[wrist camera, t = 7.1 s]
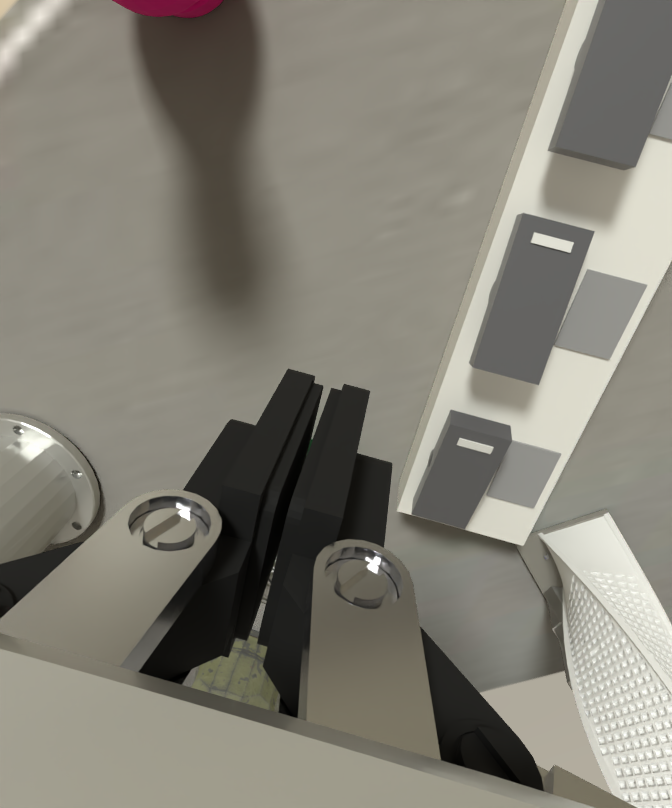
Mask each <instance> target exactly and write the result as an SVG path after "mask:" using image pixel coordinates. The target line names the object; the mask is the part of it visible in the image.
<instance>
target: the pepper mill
mask: <svg viewBox="0 0 672 808" xmlns="http://www.w3.org/2000/svg"><path fill="white" fill-rule="evenodd" d="M113 1H114V2H116V3H118V4H120V5H121V6H123V7H125V8H127V9H129V10H131V11H133V12H135V13H139V14H142V15H146V16H155V17H162V16H171V15H173V16H177V17H182V18H194V17H199V16H202V15H205V14H207V13H209V12H210V11H212V10H213V9H215V8H216V7H217V6H219V5H220V4H221V2H222V1H223V0H113Z"/></svg>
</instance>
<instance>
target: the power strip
mask: <svg viewBox="0 0 672 808" xmlns="http://www.w3.org/2000/svg"><path fill="white" fill-rule="evenodd" d="M597 3H598V0H566V3H565V6H564V9H563V12H562V14H561V17H560V20H559V23H558V26H557V29H556V32H555V35H554V38H553V40H552V43H551V46H550V49H549V52H548V55H547V58H546V61H545V63H544V66H543V69H542V72H541V75H540V78H539V81H538V84H537V87H536V89H535V92H534V95H533V98H532V101H531V104H530V107H529V110H528V112H527V115H526V118H525V121H524V124H523V127H522V130H521V133H520V135H519V138H518V141H517V144H516V147H515V150H514V153H513V156H512V159H511V161H510V164H509V167H508V170H507V173H506V176H505V179H504V182H503V184H502V187H501V190H500V193H499V196H498V199H497V202H496V205H495V208H494V210H493V213H492V216H491V219H490V222H489V225H488V228H487V231H486V233H485V236H484V239H483V242H482V245H481V248H480V251H479V254H478V256H477V259H476V262H475V265H474V268H473V271H472V274H471V277H470V280H469V282H468V285H467V288H466V291H465V294H464V297H463V300H462V303H461V305H460V308H459V311H458V314H457V317H456V320H455V323H454V326H453V329H452V331H451V334H450V337H449V340H448V343H447V346H446V349H445V352H444V354H443V357H442V360H441V363H440V366H439V369H438V372H437V375H436V377H435V380H434V383H433V386H432V389H431V392H430V395H429V398H428V401H427V403H426V406H425V409H424V412H423V415H422V418H421V421H420V424H419V426H418V429H417V432H416V435H415V438H414V441H413V444H412V447H411V450H410V452H409V455H408V458H407V461H406V464H405V467H404V470H403V473H402V475H401V478H400V481H399V491H398V503H397V511H399V512H402V513H406V514H409V515H411V513H412V503H413V498H414V495H415V493H416V491H417V488H418V486H419V483H420V481H421V479H422V476H423V474H424V472H425V469H426V467H427V464H428V460H429V456H430V453H431V451H432V449H434V448H435V445H436V443H437V441H438V438H439V436H440V434H441V431H442V429H443V426H444V424H445V422H446V419H447V417H448V415H449V412H450V410H454V411H458V412H462V413H466V414H469V415H473V416H477V417H480V418H484V419H488V420H491V421H495V422H499V423H503V424H506V425H510V426H511V434H512V443H511V444H510V446H509V448H508V450H507V452H506V454H505V456H504V457H503V459H502V461H501V463H500V465H499V467H498V469H497V470H496V472H495V474H494V476H493V478H492V480H491V482H490V483H489V485H488V487H487V489H486V491H485V493H484V495H483V496H482V498H481V500H480V502H479V504H478V506H477V508H476V509H475V511H474V513H473V515H472V517H471V519H470V521H469V522H468V524H467V526H466V528H465V529H464V530H467V531H471V532H474V533H478V534H482V535H485V536H489V537H493V538H496V539H500V540H503V541H507V542H511V543H514V544H518V545H521V546H524V544H525V542H526V540H527V538H528V536H529V534H530V532H531V530H532V528H533V526H534V524H535V523H536V521H537V519H538V517H539V515H540V513H541V511H542V509H543V507H544V505H545V503H546V501H547V499H548V498H549V496H550V494H551V492H552V490H553V488H554V486H555V484H556V482H557V480H558V478H559V476H560V474H561V472H562V471H563V469H564V467H565V465H566V463H567V461H568V459H569V457H570V455H571V453H572V451H573V449H574V447H575V446H576V444H577V442H578V440H579V438H580V436H581V434H582V432H583V430H584V428H585V426H586V424H587V422H588V421H589V419H590V417H591V415H592V413H593V411H594V409H595V407H596V405H597V403H598V401H599V399H600V397H601V395H602V394H603V392H604V390H605V388H606V386H607V384H608V382H609V380H610V378H611V376H612V374H613V372H614V370H615V369H616V367H617V365H618V363H619V361H620V359H621V357H622V355H623V353H624V351H625V349H626V347H627V345H628V344H629V342H630V340H631V338H632V336H633V334H634V332H635V330H636V328H637V326H638V324H639V322H640V320H641V318H642V317H643V315H644V313H645V311H646V309H647V307H648V305H649V303H650V301H651V299H652V297H653V295H654V293H655V292H656V290H657V288H658V286H659V284H660V282H661V280H662V278H663V276H664V274H665V272H666V270H667V268H668V267H669V265H670V263H671V261H672V76H671V78H670V81H669V83H668V86H667V88H666V91H665V94H664V96H663V99H662V101H661V104H660V106H659V109H658V111H657V114H656V117H655V119H654V122H653V124H652V127H651V129H650V132H649V135H648V137H647V140H646V142H645V145H644V147H643V150H642V152H641V155H640V158H639V160H638V163H637V165H636V167H634V168H630V169H627V170H620V169H616V168H612V167H608V166H604V165H600V164H597V163H593V162H589V161H585V160H581V159H577V158H573V157H569V156H565V155H561V154H557V153H554V152H550V151H547V150H548V147H549V144H550V142H551V139H552V136H553V133H554V130H555V127H556V124H557V121H558V118H559V115H560V112H561V109H562V106H563V103H564V100H565V97H566V94H567V92H568V89H569V86H570V83H571V80H572V77H573V74H574V71H575V69H574V66H575V61H576V58H577V55H578V53H579V50H580V48H581V46H582V44H583V42H584V40H585V39H586V36H587V33H588V30H589V27H590V24H591V21H592V18H593V15H594V12H595V9H596V6H597ZM521 213H526V214H530V215H534V216H538V217H542V218H545V219H549V220H553V221H557V222H561V223H565V224H569V225H572V226H576V227H580V228H584V229H588V230H592V231H595V232H594V235H593V238H592V241H591V243H590V246H589V249H588V252H587V254H586V257H585V260H584V263H583V265H582V268H581V271H580V273H579V276H578V279H577V282H576V284H575V287H574V290H573V293H572V295H571V298H570V301H569V304H568V306H567V309H566V312H565V315H564V317H563V320H562V323H561V326H560V328H559V331H558V334H557V337H556V339H555V342H554V345H553V347H552V350H551V353H550V356H549V358H548V361H547V364H546V367H545V369H544V372H543V375H542V378H541V380H540V383H539V385H536V384H532V383H529V382H525V381H521V380H517V379H514V378H510V377H506V376H503V375H499V374H495V373H491V372H488V371H484V370H480V369H476V368H473V367H472V366H471V365H470V364H469V361H470V358H471V355H472V352H473V349H474V345H475V342H476V339H477V336H478V333H479V330H480V327H481V324H482V321H483V318H484V315H485V312H486V309H487V306H488V299H489V294H490V291H491V288H492V286H493V283H494V282H495V281H496V278H497V275H498V272H499V269H500V266H501V263H502V259H503V256H504V253H505V250H506V247H507V244H508V241H509V238H510V235H511V232H512V229H513V226H514V223H515V219H516V216H517V215H518V214H521ZM413 516H415V515H413ZM417 517H418V516H417ZM420 518H422V517H420ZM424 519H425V518H424ZM428 520H429V519H428ZM431 521H433V520H431ZM435 522H436V521H435ZM438 523H440V522H438ZM442 524H444V523H442ZM446 525H447V524H446ZM449 526H451V525H449ZM453 527H454V526H453ZM456 528H458V527H456ZM460 529H462V528H460Z"/></svg>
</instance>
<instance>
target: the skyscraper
mask: <svg viewBox="0 0 672 808" xmlns="http://www.w3.org/2000/svg"><path fill="white" fill-rule="evenodd" d="M515 545H516V547H517V549H518V551H519V552H520V554H521V556H522V558H523V559H524V561H525V563H526V565H527V567H528V568H529V570H530V572H531V574H532V575H533V577H534V579H535V581H536V583H537V584H538V586H539V588H540V590H541V592H542V593H543V595H544V597H545V599H546V600H547V602H548V606H549V611H550V618H551V625H552V630H553V632H554V633H555V635H556V637H557V638H558V640H559V643H560V648H561V653H562V658H563V663H564V668H565V673H566V678H567V683H568V685H569V686H570V688H571V689H572V690H573V693H574V697H575V701H576V705H577V708H578V711H579V715H580V718H581V721H582V724H583V727H584V730H585V732H586V734H587V738H588V740H589V743H590V745H591V748H592V750H593V753H594V755H595V758H596V760H597V762H598V765H599V767H600V769H601V771H602V774H603V775H604V778H605V780H606V782H607V784H608V786H609V788H610V790H611V792H612V795H614V796H616V797H618V798H620V799H622V800H623V801H625V802H627V803H629V804H631V805H633V806H635V807H637V808H672V624H671V622H670V620H669V618H668V616H667V615H666V613H665V611H664V609H663V607H662V605H661V603H660V601H659V599H658V598H657V596H656V594H655V592H654V590H653V589H652V587H651V585H650V583H649V581H648V580H647V578H646V576H645V574H644V572H643V570H642V569H641V567H640V565H639V564H638V562H637V560H636V558H635V557H634V555H633V553H632V551H631V550H630V548H629V546H628V544H627V543H626V541H625V539H624V538H623V536H622V534H621V532H620V531H619V529H618V527H617V525H616V524H615V522H614V520H613V519H612V517H611V515H610V514H609V513H608V511H607V509H604V510H601V511H598V512H595V513H592V514H589V515H586V516H582V517H579V518H576V519H573V520H570V521H567V522H564V523H561V524H558V525H555V526H552V527H549V528H546V529H543V530H540V531H536V532H533V533H530V534H529V536H528V538H527V540H526V542H525V544H524V546H521V545H518V544H515Z"/></svg>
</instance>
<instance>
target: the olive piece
mask: <svg viewBox="0 0 672 808" xmlns="http://www.w3.org/2000/svg"><path fill="white" fill-rule="evenodd" d="M258 636H259V632H258V631H255V630H252V629H251V632H250V635H249V638H248V640H247V641H245V640H242V639H238V638H236V639H235V641H234V644H233V647H232V649H231V652H230V655H229V658H227V657H224V656H220V657H218V658H215V659H213V660H211V661H209V662H206V663H204V664H202V665H200V666H199V671H198V674H197V676H196V679H195V681H194V683H193V685H192V687H191V688H194V689H198V690H201V691H205V692H208V693H212V694H215V695H219V696H222V697H225V698H229V699H232V700H236V701H239V702H243V703H246V704H250V705H253V706H257V707H260V708H264V709H267V710H270V711H275V704H276V700H277V697H278V691H277V689H276V688H275V686H274V684H273V683H272V681H271V679H270V678H269V676H268V674H267V673H266V671H265V670H264V668H263V663H264V659H265V655H266V651H267V647H266V646H263V645H259V644H257V641H258Z"/></svg>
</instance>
